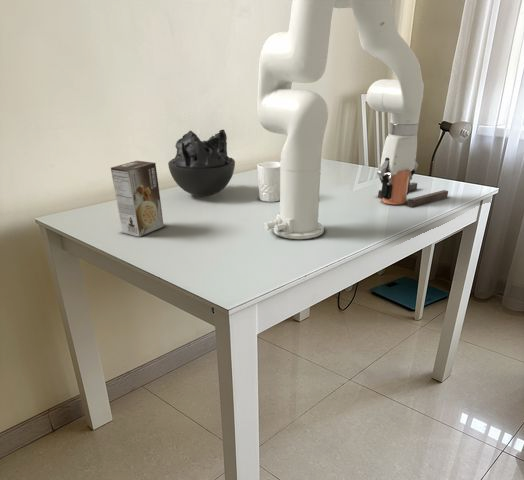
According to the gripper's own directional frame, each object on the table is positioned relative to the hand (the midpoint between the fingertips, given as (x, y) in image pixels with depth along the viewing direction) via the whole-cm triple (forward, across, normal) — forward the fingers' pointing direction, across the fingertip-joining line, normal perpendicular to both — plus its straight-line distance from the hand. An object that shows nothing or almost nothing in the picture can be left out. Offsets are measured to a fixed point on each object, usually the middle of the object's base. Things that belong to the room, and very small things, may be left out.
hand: (394, 195), depth 145 cm
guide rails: (+2, -8, 0) cm, 9 cm away
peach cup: (+2, 0, 0) cm, 2 cm away
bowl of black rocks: (+2, +41, -41) cm, 58 cm away
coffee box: (+2, +70, -22) cm, 73 cm away
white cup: (+2, +27, -25) cm, 37 cm away
